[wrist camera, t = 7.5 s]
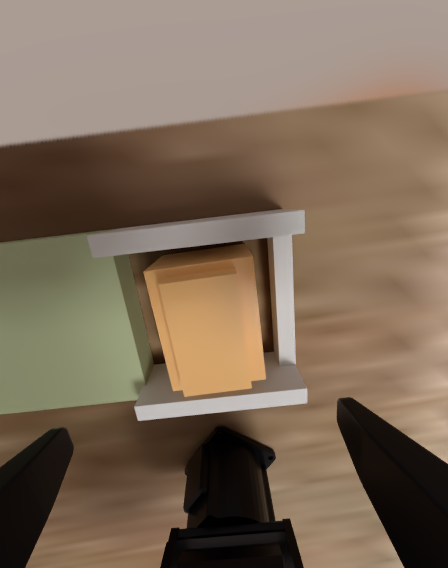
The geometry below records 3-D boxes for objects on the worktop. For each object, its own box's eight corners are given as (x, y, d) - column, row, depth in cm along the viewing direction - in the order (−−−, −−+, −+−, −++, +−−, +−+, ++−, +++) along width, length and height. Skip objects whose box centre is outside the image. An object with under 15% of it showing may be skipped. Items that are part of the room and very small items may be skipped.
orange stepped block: (244, 243, 18) (255, 260, 12) (255, 340, 20) (269, 393, 15) (162, 255, 18) (136, 277, 12) (183, 349, 20) (169, 405, 15)
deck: (282, 208, 17) (304, 209, 13) (289, 362, 21) (307, 403, 16) (-115, 256, 18) (-224, 272, 13) (-40, 397, 21) (-105, 446, 17)
